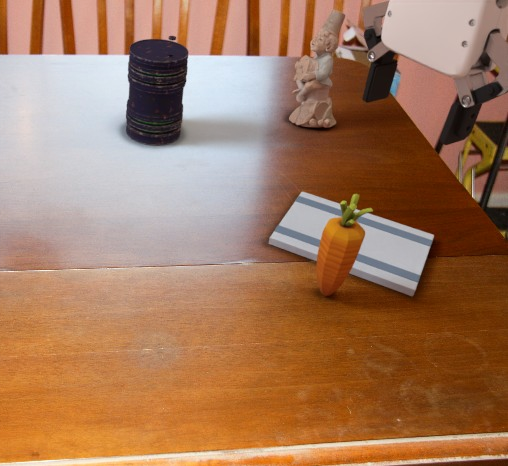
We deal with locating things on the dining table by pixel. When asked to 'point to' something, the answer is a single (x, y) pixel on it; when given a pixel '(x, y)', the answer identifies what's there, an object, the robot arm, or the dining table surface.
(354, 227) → the carrot
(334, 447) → the dining table surface
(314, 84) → the figurine
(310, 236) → the towel
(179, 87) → the dark blue cylinder
